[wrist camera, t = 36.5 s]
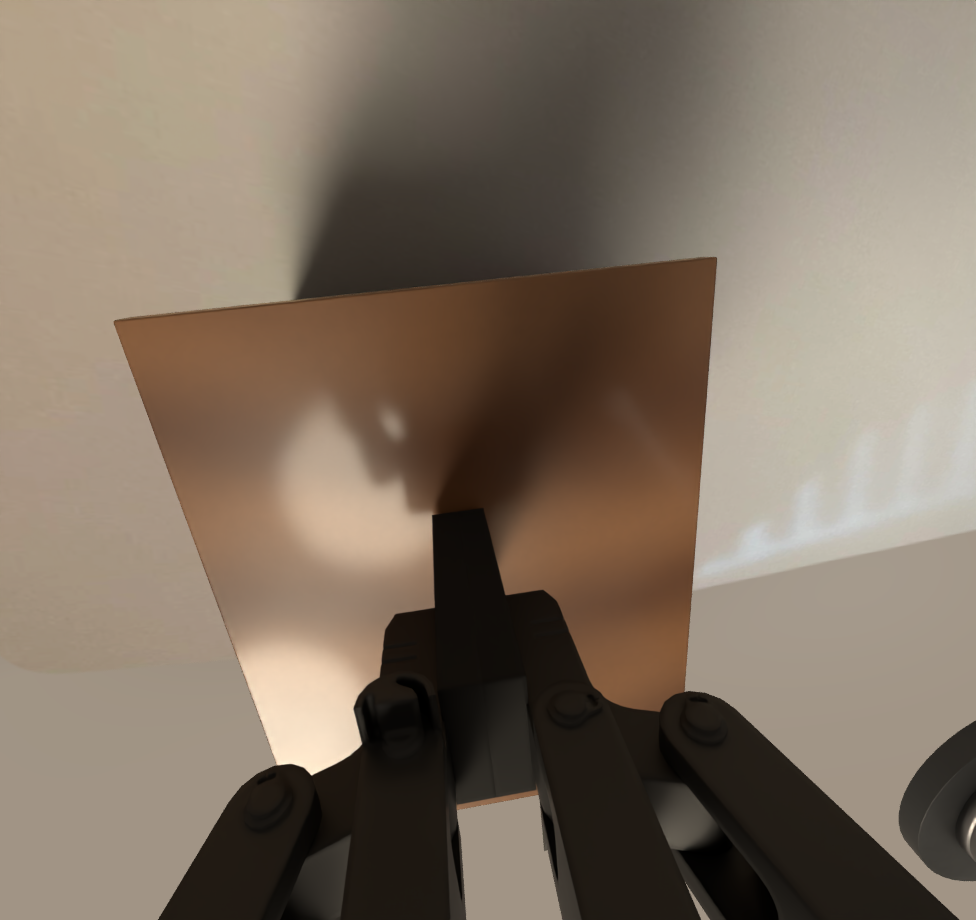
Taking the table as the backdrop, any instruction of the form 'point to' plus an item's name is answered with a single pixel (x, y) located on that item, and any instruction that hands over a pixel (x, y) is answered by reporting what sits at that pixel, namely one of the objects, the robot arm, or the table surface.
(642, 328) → the lid
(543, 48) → the table surface
